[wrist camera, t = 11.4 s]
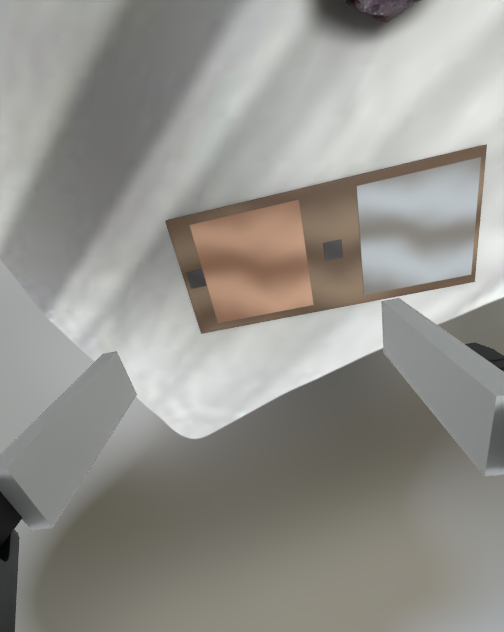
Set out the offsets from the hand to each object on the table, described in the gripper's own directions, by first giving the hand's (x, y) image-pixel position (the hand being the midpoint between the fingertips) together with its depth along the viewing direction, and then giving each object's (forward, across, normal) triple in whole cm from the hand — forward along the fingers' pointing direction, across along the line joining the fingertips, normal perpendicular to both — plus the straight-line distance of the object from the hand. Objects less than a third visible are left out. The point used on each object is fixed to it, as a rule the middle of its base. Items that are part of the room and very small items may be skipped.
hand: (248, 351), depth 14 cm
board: (+20, +8, 0) cm, 22 cm away
